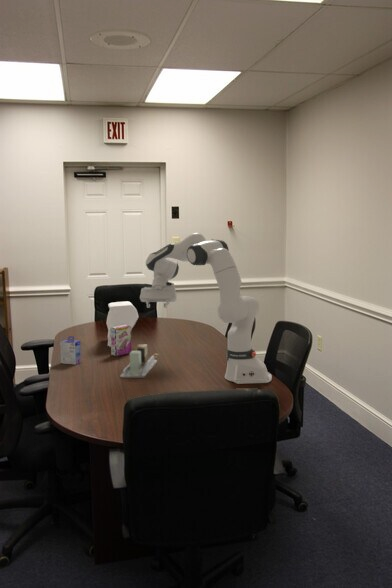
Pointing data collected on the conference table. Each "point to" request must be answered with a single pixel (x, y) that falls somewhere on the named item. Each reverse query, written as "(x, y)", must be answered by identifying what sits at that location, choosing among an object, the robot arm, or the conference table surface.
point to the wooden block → (143, 353)
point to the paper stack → (120, 316)
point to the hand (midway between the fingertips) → (156, 307)
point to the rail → (138, 366)
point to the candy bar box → (120, 340)
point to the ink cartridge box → (70, 351)
